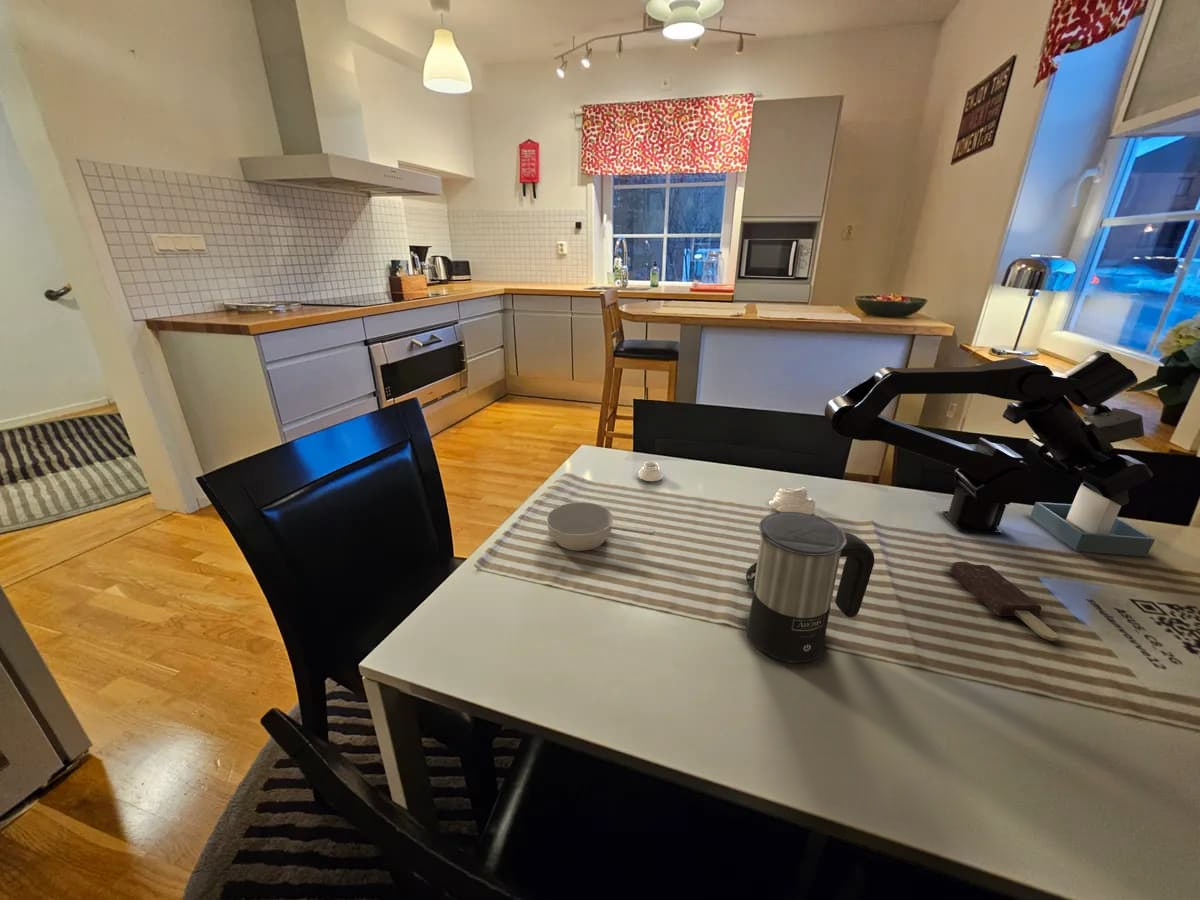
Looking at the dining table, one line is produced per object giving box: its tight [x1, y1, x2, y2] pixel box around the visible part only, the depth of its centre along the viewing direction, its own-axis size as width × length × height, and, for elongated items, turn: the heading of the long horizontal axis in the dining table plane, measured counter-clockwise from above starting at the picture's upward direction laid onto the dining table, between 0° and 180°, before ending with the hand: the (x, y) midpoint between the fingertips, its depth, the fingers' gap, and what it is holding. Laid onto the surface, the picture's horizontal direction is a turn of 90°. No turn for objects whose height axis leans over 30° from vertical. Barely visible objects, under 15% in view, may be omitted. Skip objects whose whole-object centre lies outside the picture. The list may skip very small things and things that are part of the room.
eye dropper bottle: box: [1066, 482, 1122, 535], centre depth 80 cm, size 4×6×12 cm
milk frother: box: [745, 511, 875, 664], centre depth 61 cm, size 14×16×15 cm
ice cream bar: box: [949, 561, 1058, 642], centre depth 65 cm, size 5×2×15 cm
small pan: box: [546, 501, 656, 552], centre depth 79 cm, size 11×18×4 cm, turn 68°
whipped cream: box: [768, 486, 817, 515], centre depth 89 cm, size 8×7×5 cm
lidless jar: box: [638, 461, 664, 482], centre depth 102 cm, size 5×3×5 cm
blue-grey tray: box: [1029, 501, 1156, 557], centre depth 82 cm, size 10×11×3 cm
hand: (1110, 495), depth 79 cm, fingers closed on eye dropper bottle, 5 cm apart
